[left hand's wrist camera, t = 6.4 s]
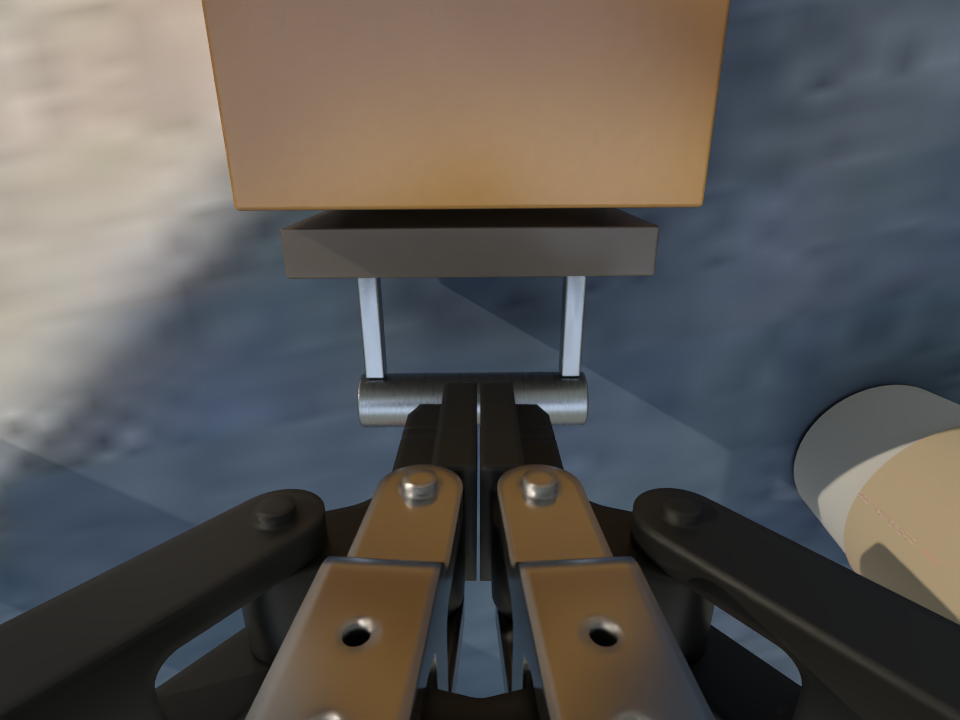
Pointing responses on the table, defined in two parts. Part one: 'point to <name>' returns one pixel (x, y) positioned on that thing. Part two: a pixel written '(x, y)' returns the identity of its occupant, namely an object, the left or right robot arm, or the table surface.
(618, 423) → the table surface
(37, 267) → the table surface
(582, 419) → the drawer
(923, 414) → the coffee cup
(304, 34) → the wooden drawer box
